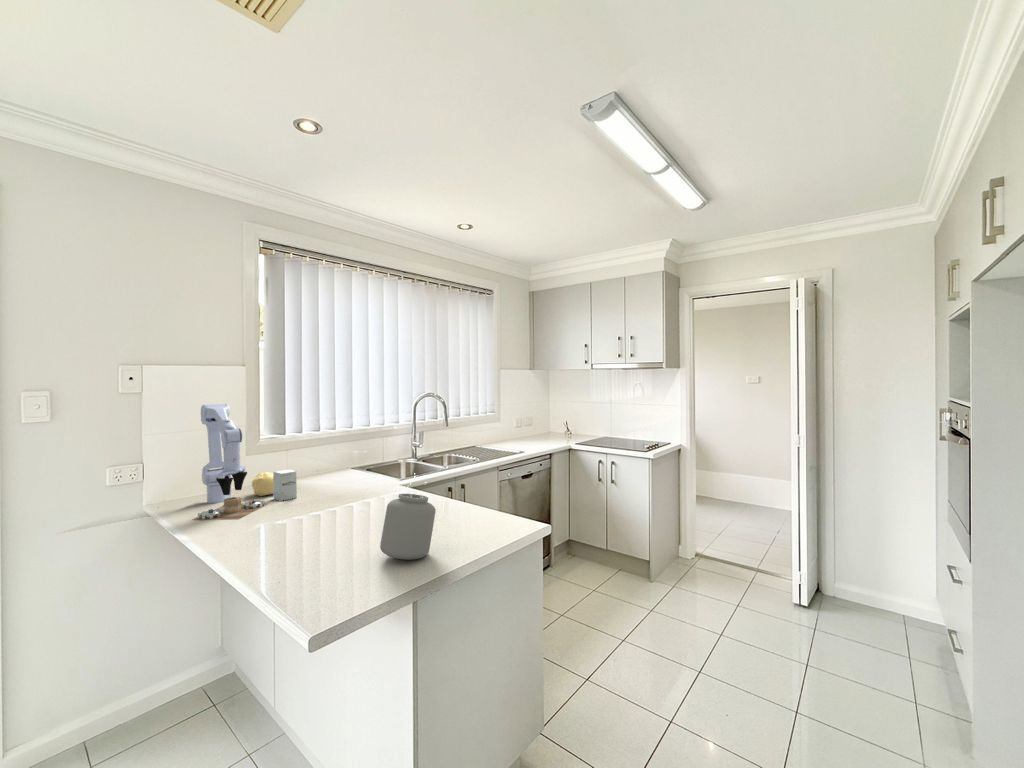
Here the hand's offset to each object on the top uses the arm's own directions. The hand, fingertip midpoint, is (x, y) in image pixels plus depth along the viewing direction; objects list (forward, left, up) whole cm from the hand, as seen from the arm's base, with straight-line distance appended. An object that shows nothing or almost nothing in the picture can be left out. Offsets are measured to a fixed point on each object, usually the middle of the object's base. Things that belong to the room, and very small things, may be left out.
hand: (232, 492), depth 179 cm
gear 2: (-6, +5, -8) cm, 11 cm away
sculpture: (-32, -4, -9) cm, 34 cm away
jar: (+44, +82, -9) cm, 94 cm away
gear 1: (+7, -4, -8) cm, 11 cm away
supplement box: (-24, +9, -9) cm, 27 cm away
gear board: (0, 0, -9) cm, 9 cm away
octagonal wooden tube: (0, 0, -8) cm, 8 cm away
